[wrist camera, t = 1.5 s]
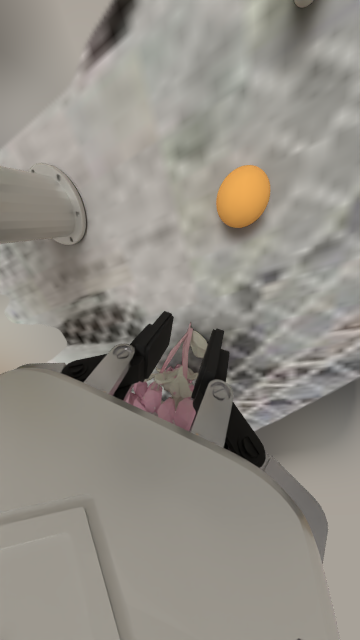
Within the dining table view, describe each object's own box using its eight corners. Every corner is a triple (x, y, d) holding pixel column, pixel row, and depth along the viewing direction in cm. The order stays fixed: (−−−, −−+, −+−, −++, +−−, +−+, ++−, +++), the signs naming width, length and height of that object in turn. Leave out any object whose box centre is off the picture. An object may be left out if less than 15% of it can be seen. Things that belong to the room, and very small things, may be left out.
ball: (214, 222, 24) (206, 223, 20) (227, 168, 21) (222, 154, 16) (255, 230, 23) (257, 234, 18) (276, 175, 20) (285, 162, 15)
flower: (121, 325, 41) (72, 453, 27) (193, 290, 27) (167, 513, 13) (175, 354, 52) (160, 454, 39) (245, 340, 39) (259, 486, 25)
